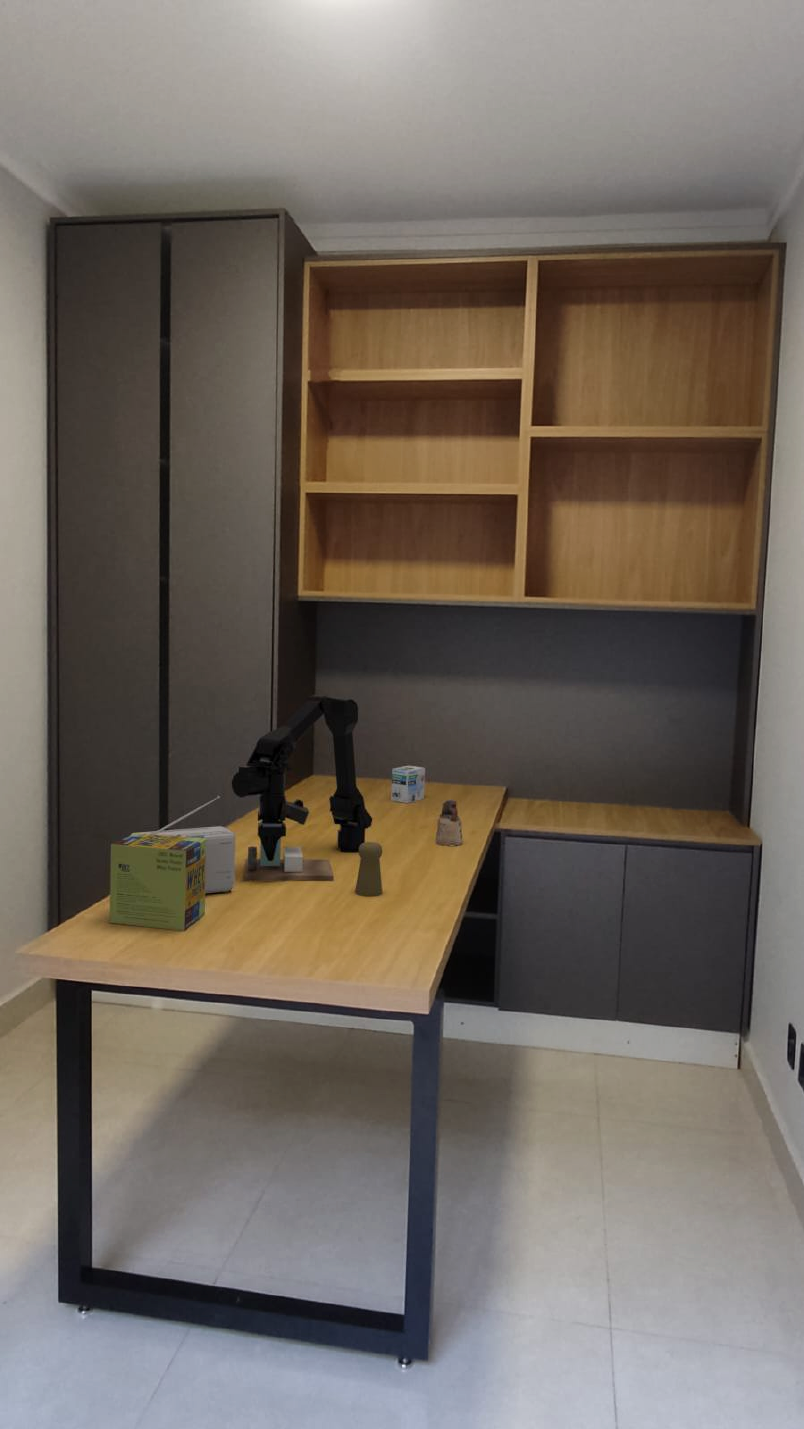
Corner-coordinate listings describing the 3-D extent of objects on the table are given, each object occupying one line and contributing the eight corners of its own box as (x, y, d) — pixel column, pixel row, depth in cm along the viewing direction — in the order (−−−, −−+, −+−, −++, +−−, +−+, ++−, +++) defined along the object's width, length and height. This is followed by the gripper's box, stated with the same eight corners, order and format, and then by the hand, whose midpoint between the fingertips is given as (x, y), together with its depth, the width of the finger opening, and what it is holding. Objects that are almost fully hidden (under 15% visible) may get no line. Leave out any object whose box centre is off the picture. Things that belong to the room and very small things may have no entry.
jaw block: (279, 860, 221) (280, 835, 221) (280, 865, 217) (280, 840, 216) (260, 860, 221) (260, 835, 220) (260, 865, 216) (260, 840, 216)
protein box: (185, 931, 177) (186, 850, 175) (108, 923, 179) (109, 843, 178) (206, 914, 187) (208, 837, 185) (133, 907, 190) (134, 831, 188)
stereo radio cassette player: (137, 905, 191) (138, 807, 189) (126, 893, 198) (128, 800, 196) (235, 893, 202) (237, 801, 200) (222, 883, 209) (224, 794, 207)
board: (328, 864, 228) (329, 843, 228) (333, 880, 214) (334, 858, 214) (244, 864, 225) (245, 842, 224) (244, 880, 211) (244, 857, 211)
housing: (300, 861, 224) (300, 846, 224) (302, 871, 216) (302, 856, 215) (283, 861, 224) (283, 846, 223) (284, 871, 215) (284, 856, 215)
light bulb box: (407, 803, 306) (408, 770, 305) (390, 800, 310) (391, 768, 309) (424, 799, 315) (426, 767, 314) (407, 796, 319) (409, 764, 318)
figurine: (456, 839, 259) (458, 796, 258) (466, 845, 253) (468, 801, 251) (432, 840, 257) (434, 797, 256) (441, 846, 250) (443, 802, 249)
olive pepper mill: (384, 896, 204) (386, 846, 203) (356, 896, 203) (358, 846, 202) (380, 888, 210) (382, 839, 209) (353, 888, 209) (355, 839, 208)
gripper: (309, 800, 209) (307, 868, 211) (305, 784, 227) (303, 848, 229) (258, 799, 207) (256, 868, 209) (258, 783, 226) (256, 847, 227)
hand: (270, 858), depth 219 cm, fingers closed on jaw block, 4 cm apart
